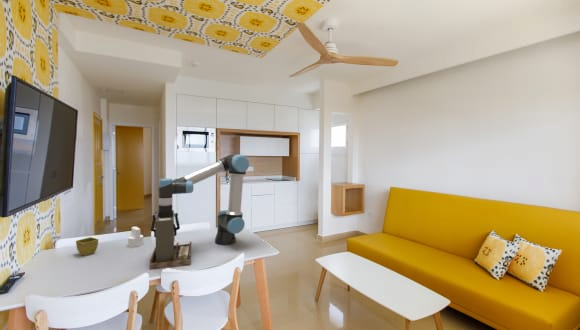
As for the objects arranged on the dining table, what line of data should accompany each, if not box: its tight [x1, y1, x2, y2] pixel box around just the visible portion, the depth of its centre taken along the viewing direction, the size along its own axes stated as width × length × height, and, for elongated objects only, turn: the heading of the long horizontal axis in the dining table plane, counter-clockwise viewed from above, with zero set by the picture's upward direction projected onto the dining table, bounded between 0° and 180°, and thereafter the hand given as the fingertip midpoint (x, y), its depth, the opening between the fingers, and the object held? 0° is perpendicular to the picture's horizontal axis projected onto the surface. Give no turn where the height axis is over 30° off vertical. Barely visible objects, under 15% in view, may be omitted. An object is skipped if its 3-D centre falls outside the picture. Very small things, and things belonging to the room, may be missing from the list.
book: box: [154, 209, 175, 263], centre depth 161 cm, size 22×9×28 cm, turn 23°
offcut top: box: [178, 246, 189, 259], centre depth 165 cm, size 5×16×2 cm, turn 18°
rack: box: [149, 241, 192, 270], centre depth 163 cm, size 21×28×6 cm
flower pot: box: [75, 236, 99, 256], centre depth 168 cm, size 9×9×9 cm
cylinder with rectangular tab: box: [127, 226, 144, 249], centre depth 186 cm, size 9×9×12 cm
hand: (165, 241), depth 162 cm, fingers closed on book, 8 cm apart
